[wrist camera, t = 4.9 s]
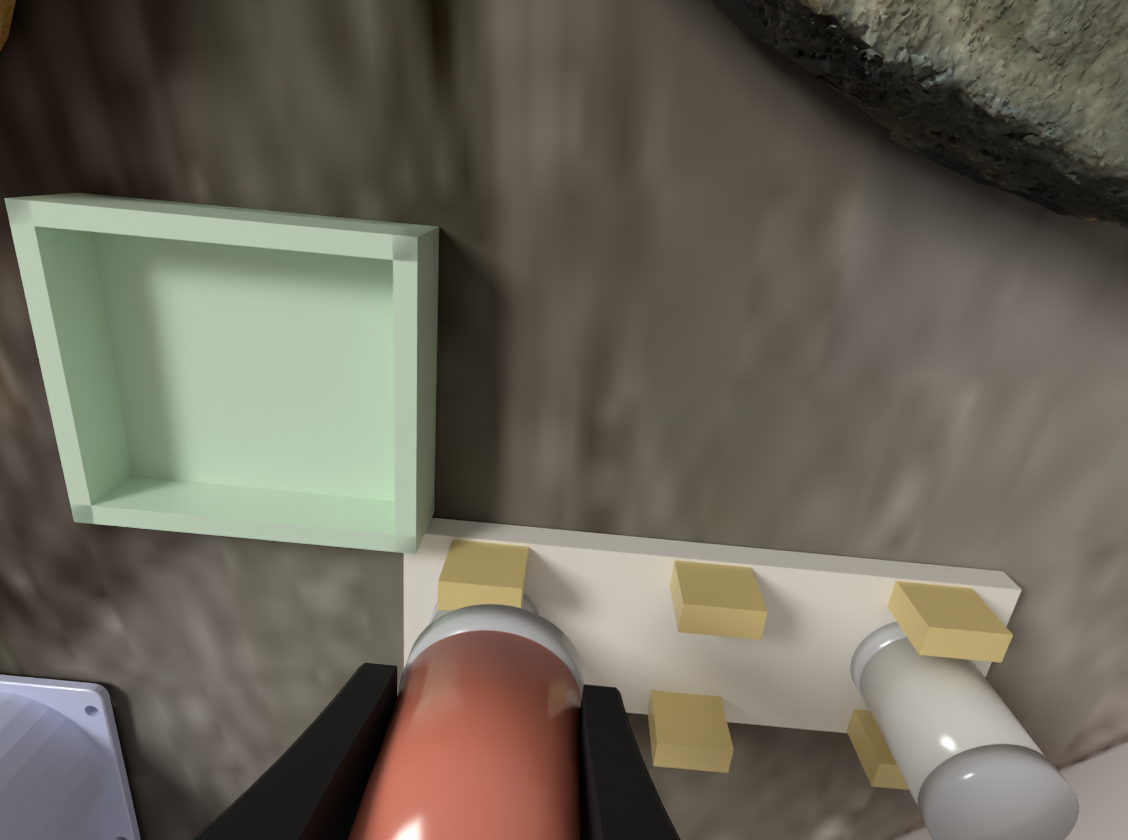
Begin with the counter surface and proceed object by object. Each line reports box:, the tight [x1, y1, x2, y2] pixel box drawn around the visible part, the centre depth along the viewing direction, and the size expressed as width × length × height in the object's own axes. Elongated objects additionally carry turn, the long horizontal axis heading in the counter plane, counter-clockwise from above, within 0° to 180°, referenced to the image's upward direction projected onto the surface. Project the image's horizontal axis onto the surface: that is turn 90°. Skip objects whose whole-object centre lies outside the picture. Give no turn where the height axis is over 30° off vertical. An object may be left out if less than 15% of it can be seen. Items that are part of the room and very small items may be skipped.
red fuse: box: [347, 604, 584, 840], centre depth 11 cm, size 4×4×6 cm
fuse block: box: [404, 518, 1022, 790], centre depth 22 cm, size 6×20×3 cm, turn 85°
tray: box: [4, 193, 439, 554], centre depth 19 cm, size 9×10×2 cm
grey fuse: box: [850, 621, 1079, 840], centre depth 19 cm, size 4×4×6 cm
